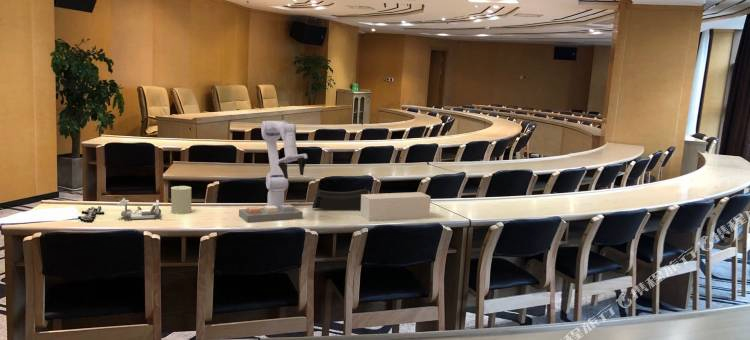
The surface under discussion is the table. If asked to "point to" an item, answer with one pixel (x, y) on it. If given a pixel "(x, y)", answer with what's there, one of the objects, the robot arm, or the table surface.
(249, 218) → the keypad
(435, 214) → the table surface
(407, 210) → the beige rectangular block
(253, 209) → the key terracotta
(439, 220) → the table surface
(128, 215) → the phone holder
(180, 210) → the can
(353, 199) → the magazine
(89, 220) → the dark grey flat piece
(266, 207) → the key cream
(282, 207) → the key slate
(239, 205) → the table surface
